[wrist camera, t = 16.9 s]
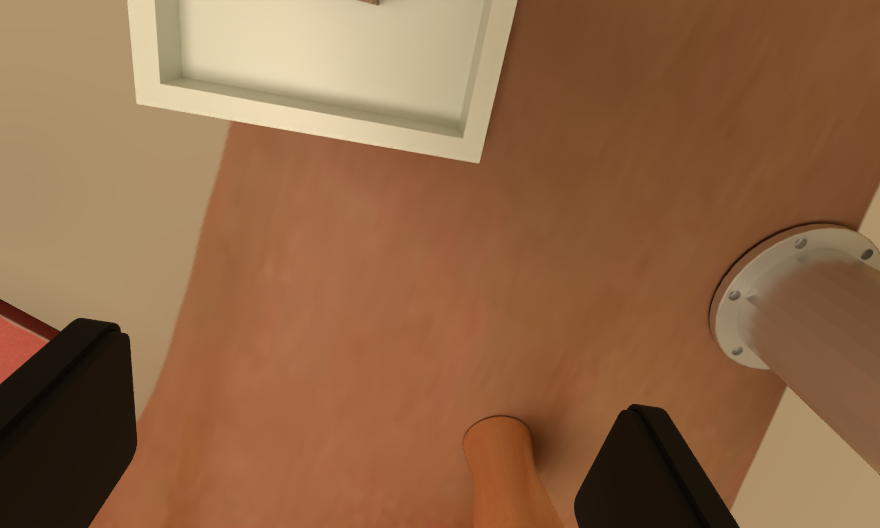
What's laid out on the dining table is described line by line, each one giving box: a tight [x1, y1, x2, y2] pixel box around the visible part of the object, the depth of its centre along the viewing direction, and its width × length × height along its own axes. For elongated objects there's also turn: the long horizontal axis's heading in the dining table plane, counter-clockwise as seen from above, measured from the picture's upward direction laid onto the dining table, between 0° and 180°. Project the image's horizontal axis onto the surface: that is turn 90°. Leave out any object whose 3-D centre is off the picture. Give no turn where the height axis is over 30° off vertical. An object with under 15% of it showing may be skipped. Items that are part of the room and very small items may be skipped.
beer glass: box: [463, 416, 564, 528], centre depth 36 cm, size 7×7×15 cm
